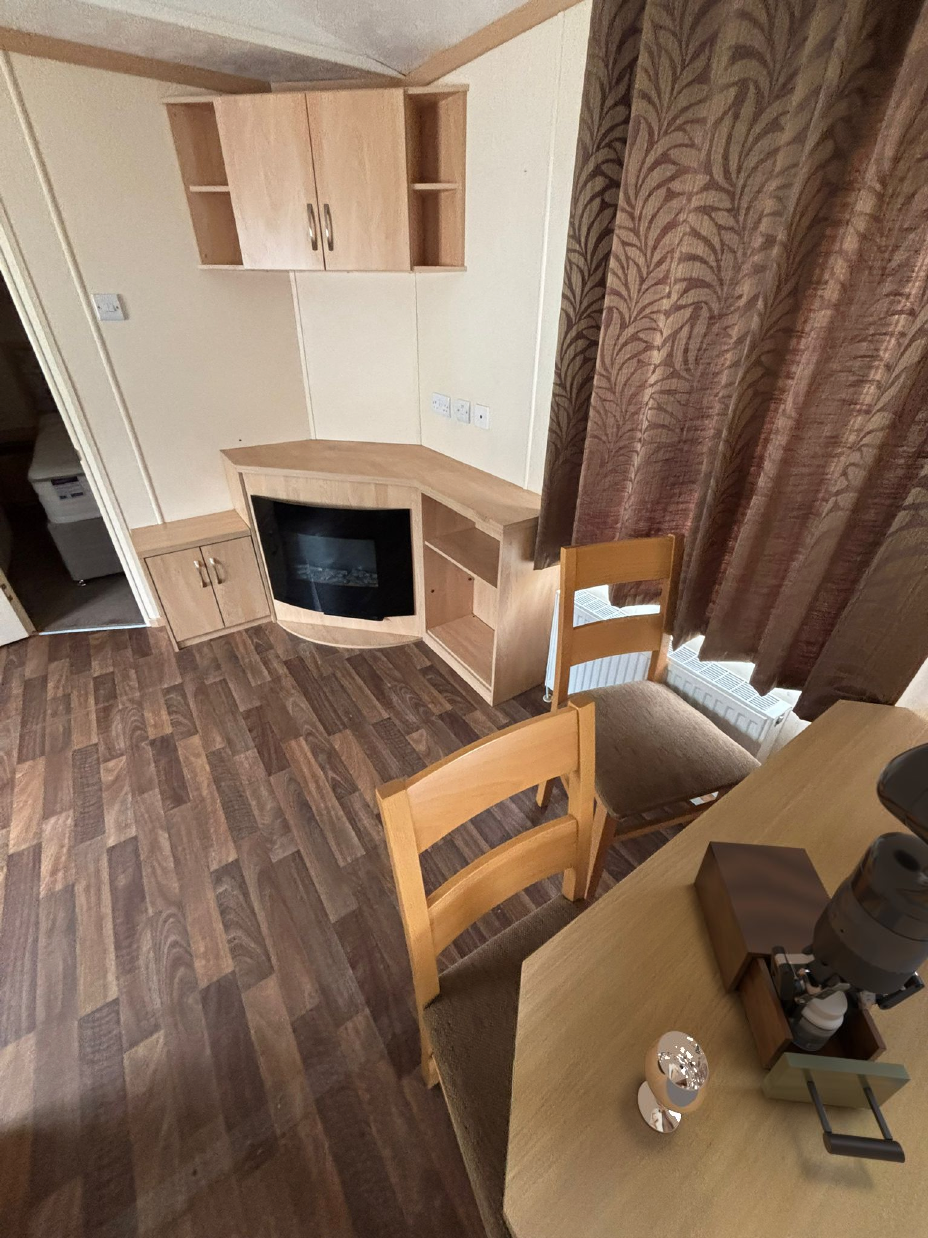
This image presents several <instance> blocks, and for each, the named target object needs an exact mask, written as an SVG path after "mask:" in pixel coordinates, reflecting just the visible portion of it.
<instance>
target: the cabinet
mask: <svg viewBox="0 0 928 1238" xmlns="http://www.w3.org/2000/svg"><path fill="white" fill-rule="evenodd" d="M693 887H694V889H695V893H696V896H697V900H698V903H699V907H700V909H701V913H702V917H703V921H704V923H705V927H706V930H707V934H708V937H709V940H710V944H711V947H712V950H713V951H712V952H713V954H714V958H715V961H716V964H717V965H716V966H717V968H718V971H719V974H720V975H719V976H720V978H721V981H722V984H723V985H722V986H723V988H724V992H725V994H727V995H728V994H729V995H737V996H741V994H740V991H739V988H738V983H739V981H740V979H741V977H742V976H743V974H744V972H745V970H746V968H747V966H748V965H749V963H750V961H751V959H752V957H753V956H758V957H769V958H771V952H772V948H773V947H775V946H782V947H784V949H785V952H786V953H788V954H801V953H802V950H803V949H804V948H805V947H807V946H809V945H810V944H812V943H813V937H814V928H815V924H816V922H817V920H818V919H819V917H820V916H821V914H822V912H823V911H824V909H825V908H826V906H827V904H828V903H829V901H830V900H831V896H830V895H829V893H828V892H827V889H826V888H825V885H824V883H823V881H822V879H821V877H820V875H819V873H818V872H817V870H816V868H815V866H814V864H813V862H812V860H811V858H810V856H809V854H808V853H807V850H806V848H804V847H793V846H778V845H767V844H766V845H765V844H753V843H741V842H726V841H715V840H709V843H708V845H707V846H706V850H705V852H704V854H703V857H702V860H701V863H700V866H699V868H698V870H697V874H696V876H695V879H694V881H693Z"/></svg>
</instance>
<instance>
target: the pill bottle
mask: <svg viewBox="0 0 928 1238" xmlns="http://www.w3.org/2000/svg"><path fill="white" fill-rule="evenodd" d="M800 983H801V985H802V988H803V990H804V989H805V985H804V982H803V980H802V981H800ZM806 1004H807V1005H806V1006H805V1008H804V1009H803V1011H802V1012H801V1013H800V1015H799V1016H798V1017H797V1019H796V1018H789V1017H788V1015H787V1013H786V1012H784V1010H783V1007H782V1006H781V1007H782V1010H783V1012H784V1015H785V1018H786V1020H787V1023H788V1026H789V1029H790V1031H791V1034H792V1037H793V1039H792V1042H793V1043H794V1044H795V1045H797V1046H798V1047H800V1048H802V1049H804V1050H808V1051H816V1050H819V1049H820V1048H821V1047H822V1046H823V1045H824V1044H825V1043H826V1042H827V1041H828V1040H829V1038H830V1037H831V1036H832V1035H833V1033H834V1032H835V1031H836V1030H837V1029H838V1028H839V1027H840V1026H841V1024H842V1022H843V1014H844V1013H845V1012H846V1010H847V999H846V996H845V994H844V992H841V991H837V992H836V993H834V994H832V995H831V996H829V997H828V998H826V999H824V1000H819V999H816V998H814V999H813V1000H811V1001H810V1002H808V1003H806Z"/></svg>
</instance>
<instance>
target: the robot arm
mask: <svg viewBox="0 0 928 1238" xmlns="http://www.w3.org/2000/svg"><path fill="white" fill-rule="evenodd" d="M875 788H876V789H875V792H876V796H877V799H878V801H879V803H880V804H881V805H882V806H883V807H884V809H885V810H886V811H887V812H888V813H889V814H891V816H893V817H894V818H895V819H896V820H897V821H899V822H900V823H901V824H902V825H903V826H905V827H906V828H907V829H908V830H909V831H911V832H912V833H913V834H911V833H907V832H902V831H888V832H885V833H883V834H880V835H878V836H877V837H875V838H874V839H873V840H872V841H871V843H870V844H869V845H868V846H867V847H866V849H865V851H864V853H863V854H862V855H861V857H860V858H859V861H858V862H857V863H856V864H855V866H854V868H853V870H852V871H851V873H850V874H849V875H848V876H847V877H845V879H843V880H842V881H841V883H840V884H839V886H838V887H837V889H836V890H835V892H834V893H833V894H832V896H831V897H830V899H831V900H830V901H829V903H828V904H827V906H826V908H825V909H824V911H823V912H822V914H821V916H820V917H819V919H818V920H817V922H816V924H815V928H814V937H813V943H812V944H810V945H809V946H807V947H805V948H804V949H803V950H802V953H801V954H788V953H786V952H785V949H784V947H782V946H775V947H773V948H772V952H771V975H772V978H773V981H774V983H775V986H776V989H777V991H778V994H779V999H780V1002H781V1004H782V1007H783V1010H784V1012H786V1013H787V1015H788V1017H789V1018H796V1019H797V1017H798V1016H799V1015H800V1013H801V1012H802V1011H803V1009H804V1008H805V1006H806V1005H807V1004H806V1003H808V1002H810V1001H811V1000H813V999H814V998H816V999H819V1000H824V999H826V998H828V997H829V996H831V995H832V994H834V993H836V992H837V991H841V992H844V994H845V996H846V999H847V1010H846V1012H845V1013H844V1014H843V1022H842V1023H844V1024H849V1023H850V1021H851V1020H852V1019H854V1018H856V1016H857V1015H858V1014H859V1013H860V1012H861V1011H867V1010H869V1011H870V1010H872V1007H873V1005H877V1007H878V1009H880V1010H882V1011H888V1010H891V1009H893V1008H894V1007H896V1006H897V1005H899V1004H901V1003H902V1002H903V1001H905V1000H907V999H909V998H910V997H912V996H913V995H915V994H917V993H918V992H919V991H921V990H923V989H924V988H926V985H925V983H924V982H923V980H922V978H921V976H920V974H919V972H918V970H919V969H920V967H921V966H922V965H923V964H924V963H925V962H926V961H927V959H928V742H924V743H922V744H919V745H916V746H913V747H911V748H909V749H907V750H905V751H902V752H901V753H899V754H897V755H896V756H895V757H893V758H891V760H889V761H888V762H887V763H886V764H885V765H884V766H883V768H881V771H880V772H879V775H878V777H877V780H876V786H875ZM802 980H803V982H804V985H805V989H804V990H803V988H802V985H801V983H800V981H802Z"/></svg>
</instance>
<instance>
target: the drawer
mask: <svg viewBox="0 0 928 1238" xmlns="http://www.w3.org/2000/svg"><path fill="white" fill-rule="evenodd" d="M738 988H739V991H740V994H741V995H740V997H741V1001H742V1003H743V1006H744V1010H745V1013H746V1016H747V1020H748V1023H749V1026H750V1029H751V1032H752V1035H753V1039H754V1042H755V1045H756V1049H757V1052H758V1055H759V1058H760V1061H761V1065H762V1067H763V1068H764V1069H770V1071H769V1072H768V1073H767V1074H766V1076H764V1078H763V1080H762V1081H761V1083H760V1086H761V1088H762V1092H763V1095H764V1098H768V1099H776V1100H785V1101H795V1102H802V1103H811V1104H813V1106H814V1109H815V1112H816V1115H817V1117H818V1120H819V1123H820V1125H821V1128H822V1131H823V1133H822V1143H823V1146H824V1148H825V1150H826V1152H827V1153H828V1154H829V1155H833V1156H839V1157H840V1156H841V1157H849V1158H857V1159H858V1158H859V1159H865V1160H866V1159H867V1160H872V1161H873V1160H874V1161H882V1162H891V1163H898V1164H904V1163H905V1162H906V1154H905V1151H904V1149H903V1147H902V1145H901V1143H900V1142H898V1140H895V1139H894V1138H893V1135H892V1132H891V1131H890V1128H889V1126H888V1124H887V1121H886V1120H885V1117H884V1114H883V1112H882V1110H881V1109H880V1108H881V1107H882V1106H883V1105H884V1104H885V1103H886V1102H888V1100H890V1099H891V1098H892V1097H893V1096H895V1095H896V1094H897V1093H898V1092H899V1091H900V1090H901V1089H902V1088H903V1087H904V1086H905V1085H907V1084H908V1083H909V1082H910V1081H911V1077H910V1075H909V1073H908V1071H907V1068H906V1067H905V1065H904V1064H901V1063H900V1064H899V1063H890V1062H880V1061H877V1060H878V1059H879V1058H880V1057H881V1056H882V1055H883V1054H884V1053H885V1052H886V1051H887V1050H888V1047H887V1045H886V1043H885V1041H884V1039H883V1037H882V1035H881V1032H880V1031H879V1029H878V1027H877V1026H878V1025H877V1024H876V1021H875V1020H874V1018H873V1016H872V1014H871V1012H870V1010H867V1011H861V1012H860V1013H859V1014H858V1015H857V1016H856V1018H854V1019H852V1020H851V1021H850V1023H849V1024H844V1023H842V1024H841V1026H840V1027H839V1028H838V1029H837V1030H836V1031H835V1032H834V1033H833V1035H832V1036H831V1037H830V1038H829V1040H828V1041H827V1042H826V1043H825V1044H824V1045H823V1046H822V1047H821V1048H820V1049H819V1050H816V1051H808V1050H804V1049H802V1048H800V1047H798V1046H797V1045H795V1044H794V1043H793V1042H792V1039H793V1037H792V1034H791V1031H790V1029H789V1026H788V1023H787V1020H786V1018H785V1015H784V1012H783V1010H782V1007H781V1006H782V1004H781V1002H780V999H779V994H778V991H777V989H776V986H775V983H774V981H773V978H772V975H771V958H769V957H758V956H753V957H752V959H751V961H750V963H749V965H748V966H747V968H746V970H745V972H744V974H743V976H742V977H741V979H740V981H739V983H738ZM824 1105H830V1106H837V1107H838V1106H839V1107H846V1108H854V1109H864V1110H871V1112H872V1114H873V1117H874V1120H875V1121H876V1123H877V1126H878V1128H879V1131H880V1133H881V1136H882V1137H883V1138H878V1137H870V1136H869V1137H868V1136H861V1135H852V1134H843V1133H836V1132H833V1130H832V1127H831V1124H830V1122H829V1119H828V1117H827V1113H826V1111H825V1109H824Z"/></svg>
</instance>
